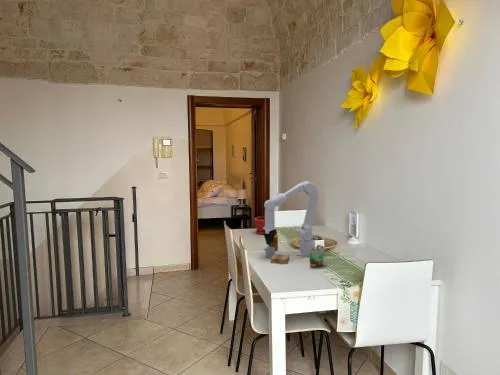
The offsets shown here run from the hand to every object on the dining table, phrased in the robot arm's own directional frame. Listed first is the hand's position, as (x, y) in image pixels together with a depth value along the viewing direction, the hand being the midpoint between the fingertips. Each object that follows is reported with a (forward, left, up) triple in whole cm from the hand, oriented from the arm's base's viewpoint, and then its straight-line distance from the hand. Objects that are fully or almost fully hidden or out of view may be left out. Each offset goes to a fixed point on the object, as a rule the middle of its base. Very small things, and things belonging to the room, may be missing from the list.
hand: (269, 242), depth 218 cm
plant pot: (+19, -57, -8) cm, 61 cm away
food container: (-30, +12, -8) cm, 33 cm away
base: (-8, +9, -8) cm, 14 cm away
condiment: (+2, -13, -8) cm, 15 cm away
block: (0, 0, -8) cm, 8 cm away
